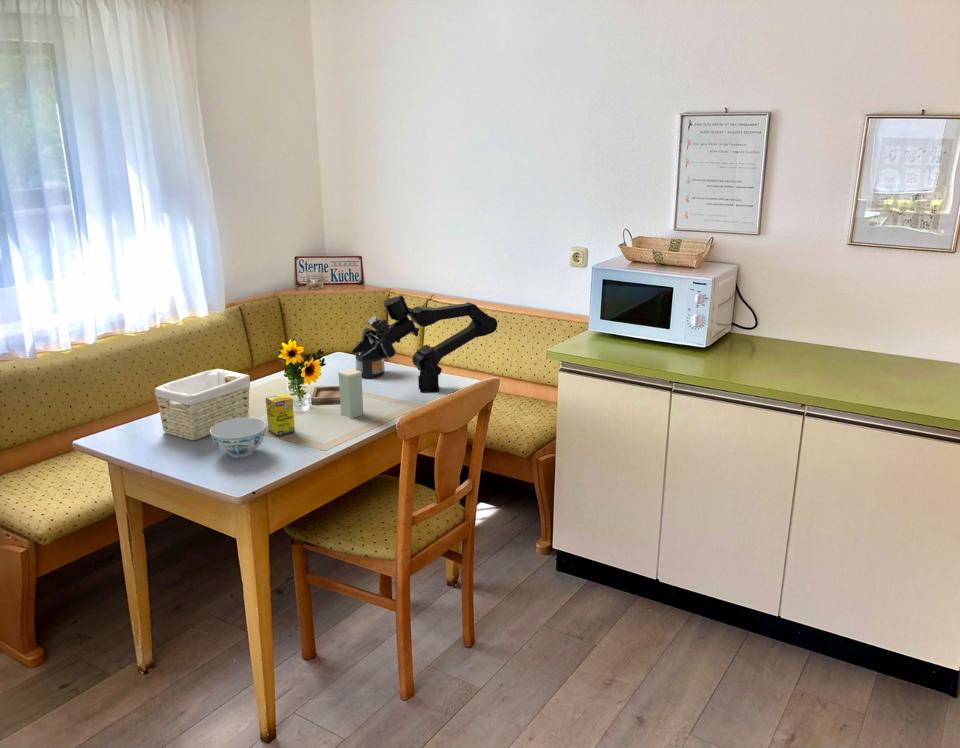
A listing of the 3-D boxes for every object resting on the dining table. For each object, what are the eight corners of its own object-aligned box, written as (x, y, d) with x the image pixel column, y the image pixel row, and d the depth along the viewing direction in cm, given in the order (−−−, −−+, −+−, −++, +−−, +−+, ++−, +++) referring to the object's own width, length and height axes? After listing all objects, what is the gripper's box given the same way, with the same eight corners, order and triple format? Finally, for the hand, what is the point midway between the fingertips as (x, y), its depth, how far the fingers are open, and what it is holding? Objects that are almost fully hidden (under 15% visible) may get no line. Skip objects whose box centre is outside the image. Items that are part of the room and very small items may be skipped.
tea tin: (353, 410, 253) (351, 368, 249) (363, 414, 250) (361, 371, 246) (340, 414, 250) (338, 372, 246) (350, 418, 246) (348, 375, 242)
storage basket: (220, 410, 255) (215, 366, 250) (256, 419, 247) (252, 374, 242) (157, 434, 235) (151, 387, 231) (194, 445, 227) (188, 396, 223)
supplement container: (391, 374, 289) (389, 343, 285) (367, 381, 282) (365, 348, 278) (374, 368, 296) (372, 337, 293) (350, 374, 289) (348, 343, 286)
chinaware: (278, 445, 226) (275, 419, 224) (252, 466, 212) (249, 439, 210) (230, 440, 230) (227, 415, 227) (202, 461, 216) (198, 435, 213)
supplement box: (277, 437, 232) (274, 402, 229) (268, 431, 236) (264, 397, 233) (295, 432, 236) (292, 397, 232) (286, 426, 240) (283, 392, 237)
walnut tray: (350, 391, 272) (350, 385, 271) (348, 402, 260) (348, 397, 260) (315, 392, 271) (315, 386, 270) (311, 404, 259) (311, 398, 259)
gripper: (376, 305, 265) (336, 328, 261) (397, 316, 250) (355, 341, 245) (390, 332, 271) (351, 356, 266) (411, 345, 255) (370, 370, 250)
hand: (356, 355), depth 257 cm, fingers open, 9 cm apart
